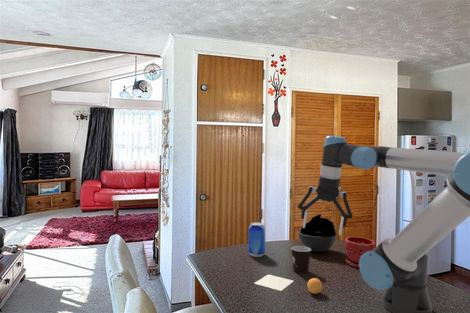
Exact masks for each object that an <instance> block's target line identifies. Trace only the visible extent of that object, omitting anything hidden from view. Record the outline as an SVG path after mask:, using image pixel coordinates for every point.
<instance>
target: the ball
mask: <svg viewBox="0 0 470 313" xmlns="http://www.w3.org/2000/svg"><path fill="white" fill-rule="evenodd" d="M306 286H307V289H308V291H309V292H310V293H311V294H313V295H316V294H319V293H321V292H322V291H323V283H322V281H321V280H320V279H319V278H317V277H315V278H314V277H313V278H310V279H309V280H308V281H307V285H306Z"/></svg>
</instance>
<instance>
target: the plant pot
mask: <svg viewBox="0 0 470 313" xmlns="http://www.w3.org/2000/svg"><path fill="white" fill-rule="evenodd" d="M344 243H345V245H344V248H345V249H344V250H345V254H346V258H345V262H346V263H347V264H348V265H349V266H352V267H354V268H359V269H360V267H359V260H360V257H361V256H362V255H363V254H364V253H366V252H367V251H372V250H374V249H375V248H376V244H375V241H374V240H372V239H369V238H366V237H363V236H362V237H361V236H360V237H359V236H348V237H346V238H345V242H344Z"/></svg>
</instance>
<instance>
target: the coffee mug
mask: <svg viewBox="0 0 470 313" xmlns="http://www.w3.org/2000/svg"><path fill="white" fill-rule="evenodd" d="M290 250H291V260H292V271H293V273H296V274H300V275H301V274H302V275H303V274H308V272H309V266H310V260H311V253H312V252H311V249H310V248H308V247H305V246H304V245H294V246H292V247H290Z"/></svg>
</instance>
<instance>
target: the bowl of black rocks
mask: <svg viewBox="0 0 470 313" xmlns="http://www.w3.org/2000/svg"><path fill="white" fill-rule="evenodd" d="M337 235H338V234H337V232H336V229H335V225H334V221H332V220H330V219H329V218H325V217H322V215H321V214H317V215H315V216H313V217H311V218H310V220H309V221H308V222H306V225H305V228H303V226H301V228H300V230H298V238H299V240H300V243H301V244H302V246H304V247H308V248H310V249H311V251H312V252H316V253H323V252H325V251H328V250H330V249H331V248H332V247H333V246H334V245H335V242H336V240H337V238H338V236H337Z"/></svg>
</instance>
